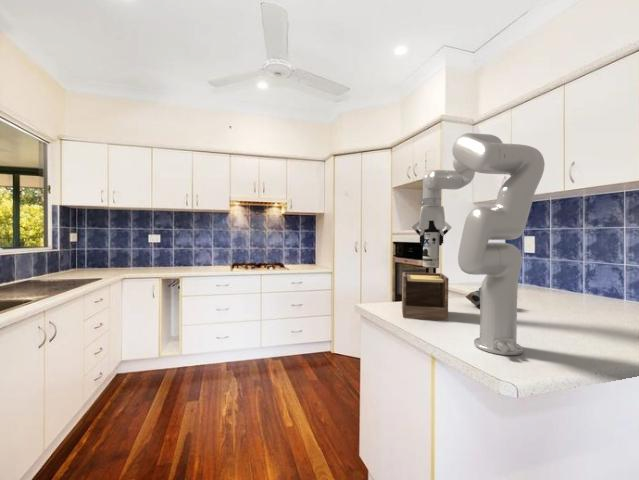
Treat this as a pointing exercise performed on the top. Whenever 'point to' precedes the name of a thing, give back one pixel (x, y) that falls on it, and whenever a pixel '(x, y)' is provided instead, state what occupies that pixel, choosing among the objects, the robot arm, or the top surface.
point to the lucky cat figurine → (475, 297)
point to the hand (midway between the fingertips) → (431, 244)
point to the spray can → (431, 246)
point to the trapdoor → (424, 278)
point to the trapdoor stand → (425, 298)
